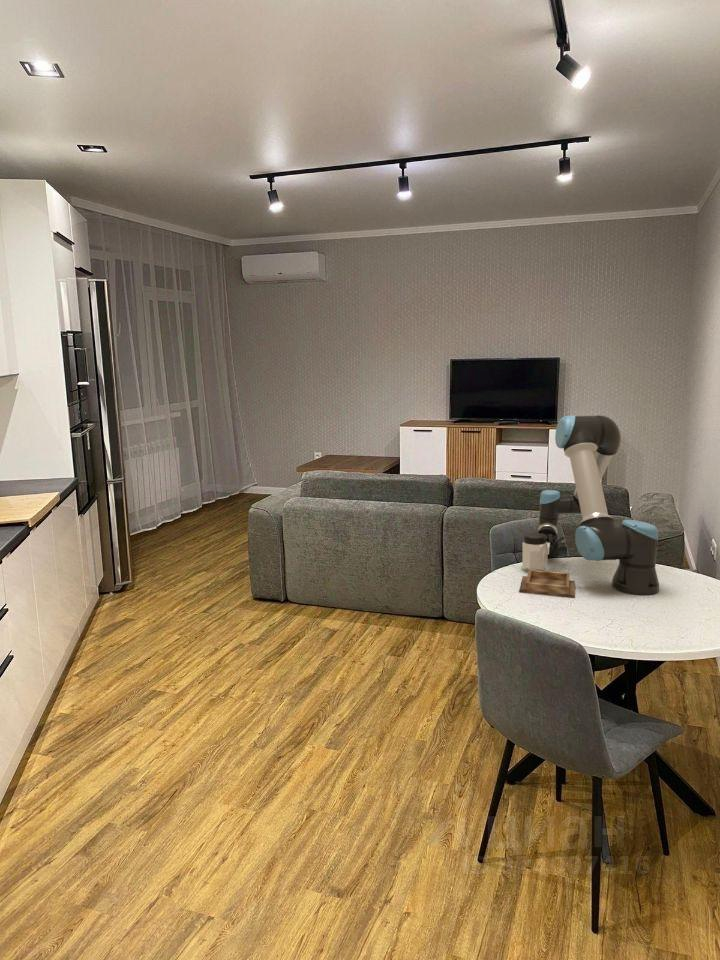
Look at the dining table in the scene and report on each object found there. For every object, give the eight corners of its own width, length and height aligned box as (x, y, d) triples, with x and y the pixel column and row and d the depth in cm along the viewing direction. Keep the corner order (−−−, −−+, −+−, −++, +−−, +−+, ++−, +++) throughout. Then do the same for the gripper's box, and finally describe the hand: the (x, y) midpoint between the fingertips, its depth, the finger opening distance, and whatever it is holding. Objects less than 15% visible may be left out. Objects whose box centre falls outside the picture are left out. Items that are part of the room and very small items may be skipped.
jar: (540, 571, 258) (540, 539, 256) (519, 568, 263) (519, 536, 261) (550, 565, 265) (550, 534, 263) (530, 562, 270) (530, 531, 268)
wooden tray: (574, 583, 251) (575, 574, 250) (574, 597, 237) (575, 587, 236) (522, 578, 256) (522, 569, 255) (519, 592, 242) (519, 582, 241)
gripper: (566, 545, 278) (565, 562, 256) (527, 542, 282) (523, 558, 260) (567, 526, 277) (566, 542, 254) (528, 524, 281) (524, 538, 259)
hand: (544, 550), depth 257 cm, fingers closed on jar, 2 cm apart
